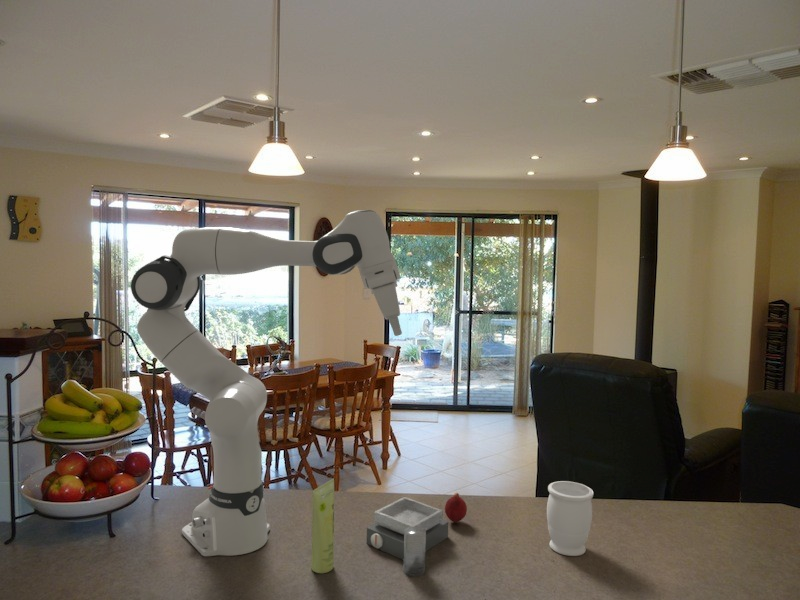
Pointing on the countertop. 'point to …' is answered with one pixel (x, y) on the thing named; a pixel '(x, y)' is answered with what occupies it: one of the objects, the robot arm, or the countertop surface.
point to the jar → (569, 516)
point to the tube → (323, 528)
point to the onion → (455, 508)
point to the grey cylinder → (414, 551)
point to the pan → (407, 515)
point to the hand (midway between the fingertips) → (397, 332)
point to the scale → (402, 538)
